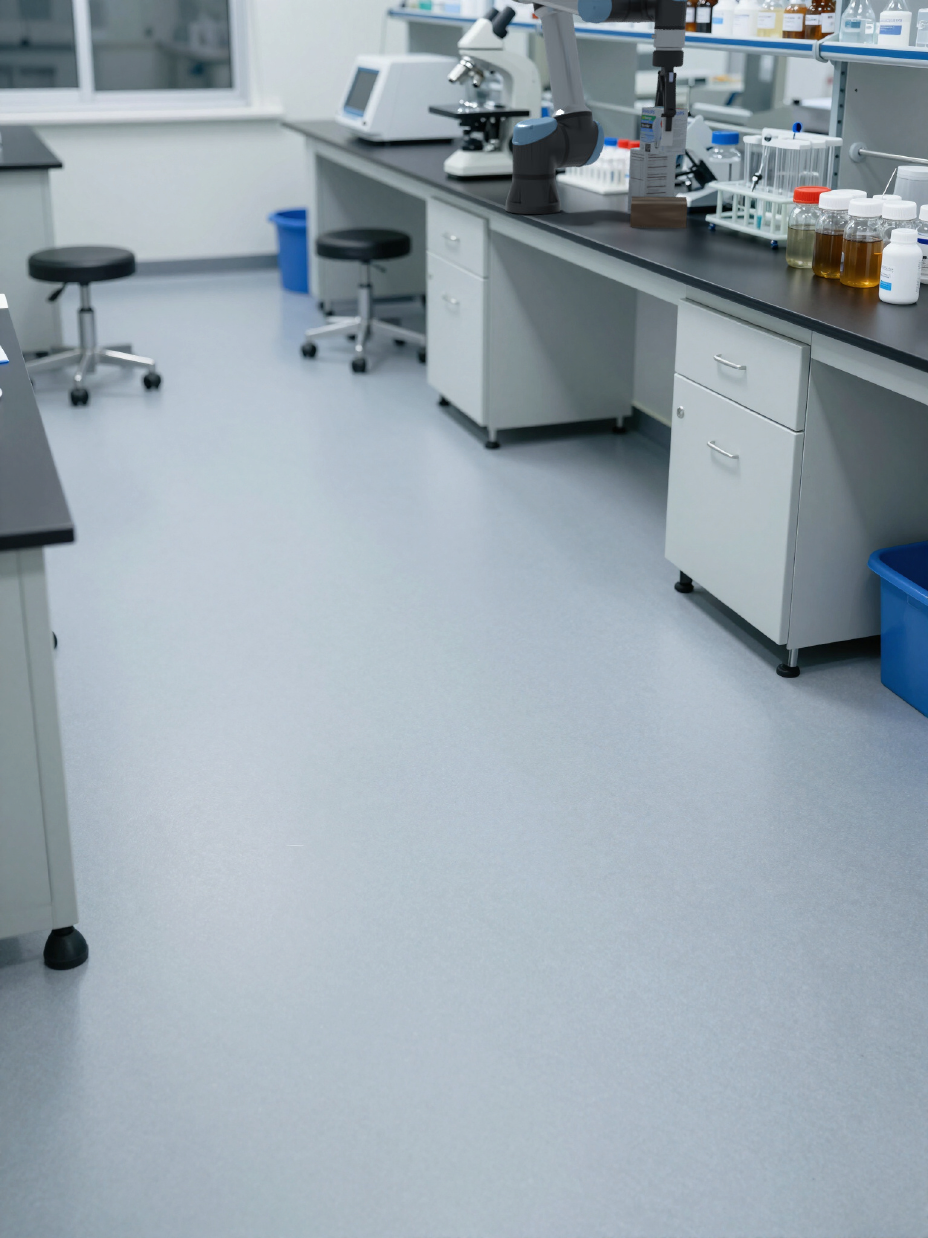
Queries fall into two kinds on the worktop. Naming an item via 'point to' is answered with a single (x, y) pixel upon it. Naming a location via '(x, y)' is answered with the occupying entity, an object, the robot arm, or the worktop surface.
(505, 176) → the worktop surface
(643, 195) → the supplement box
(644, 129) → the light bulb box
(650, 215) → the walnut plinth
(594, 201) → the worktop surface
